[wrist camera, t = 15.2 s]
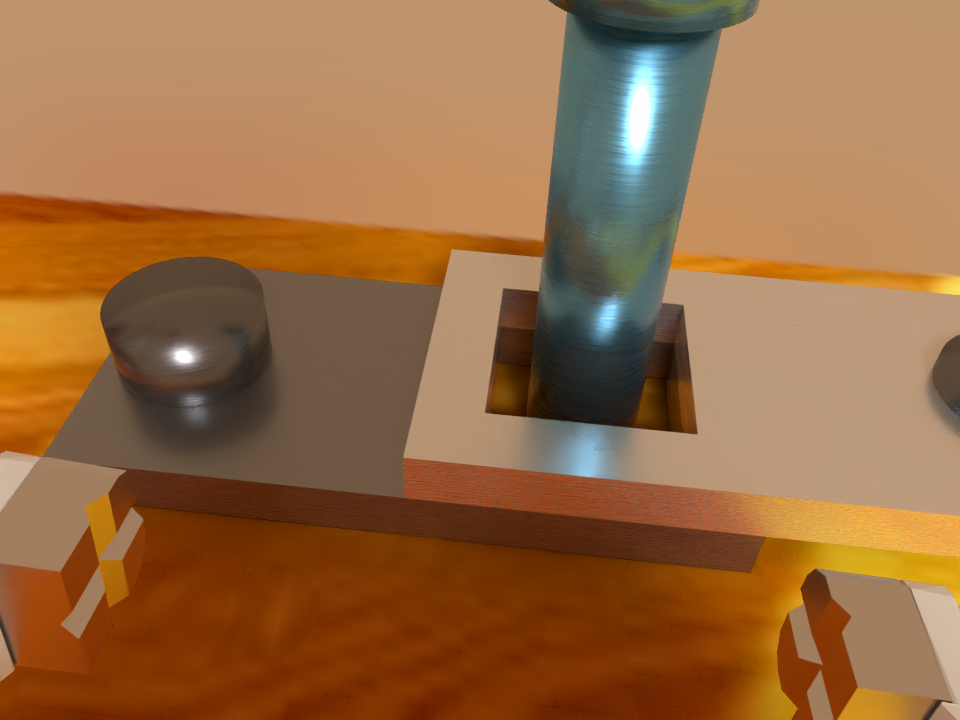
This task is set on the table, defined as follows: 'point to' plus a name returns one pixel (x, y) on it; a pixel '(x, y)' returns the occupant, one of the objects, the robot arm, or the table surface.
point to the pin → (618, 195)
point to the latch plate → (531, 441)
